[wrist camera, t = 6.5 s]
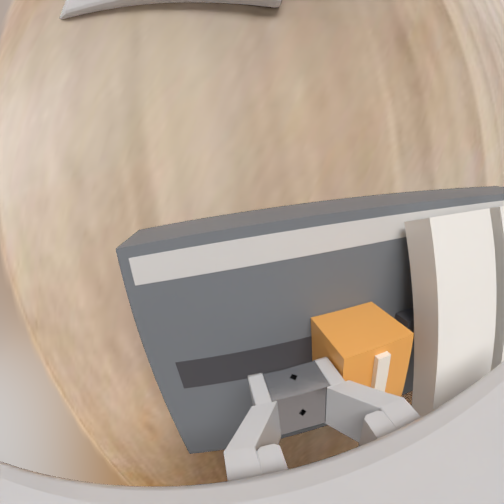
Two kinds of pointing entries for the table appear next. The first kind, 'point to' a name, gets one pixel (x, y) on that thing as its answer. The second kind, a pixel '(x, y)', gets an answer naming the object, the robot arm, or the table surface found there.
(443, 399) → the panel
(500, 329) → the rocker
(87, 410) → the table surface
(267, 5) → the light switch
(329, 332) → the slider knob
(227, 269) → the panel
